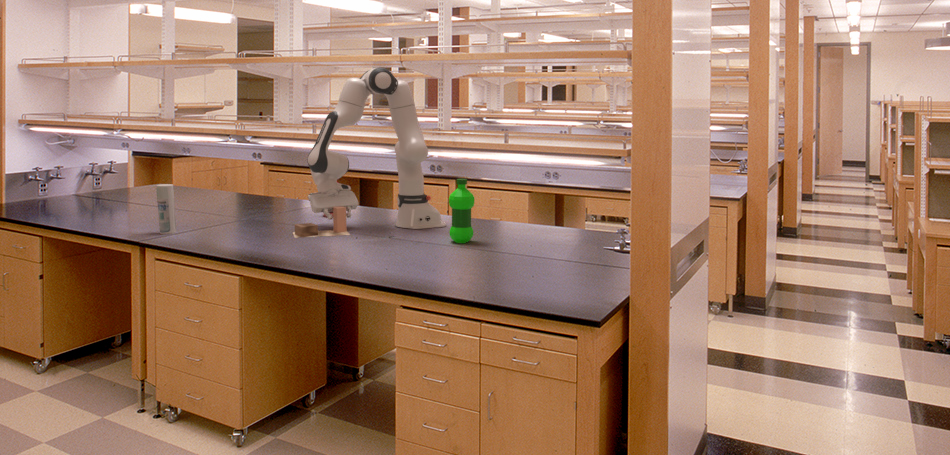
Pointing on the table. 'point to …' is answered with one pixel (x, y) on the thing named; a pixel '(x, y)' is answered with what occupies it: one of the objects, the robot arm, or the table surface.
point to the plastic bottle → (461, 213)
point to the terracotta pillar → (339, 219)
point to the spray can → (166, 208)
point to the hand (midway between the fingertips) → (340, 217)
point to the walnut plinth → (306, 229)
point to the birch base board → (325, 233)
